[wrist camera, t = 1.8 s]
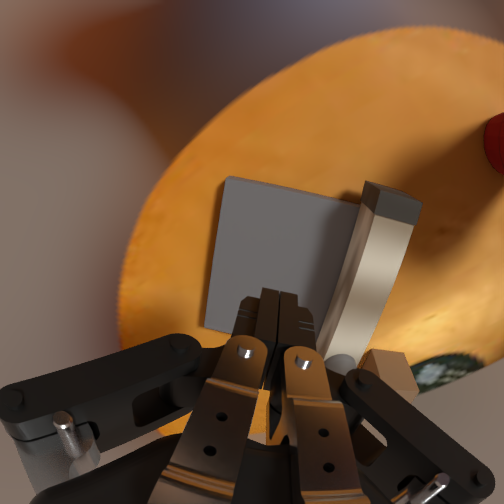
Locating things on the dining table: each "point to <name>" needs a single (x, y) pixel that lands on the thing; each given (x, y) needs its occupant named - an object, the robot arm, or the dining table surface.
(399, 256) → the folding leg
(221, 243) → the grey slab beige block
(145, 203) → the dining table surface
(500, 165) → the plastic cup
